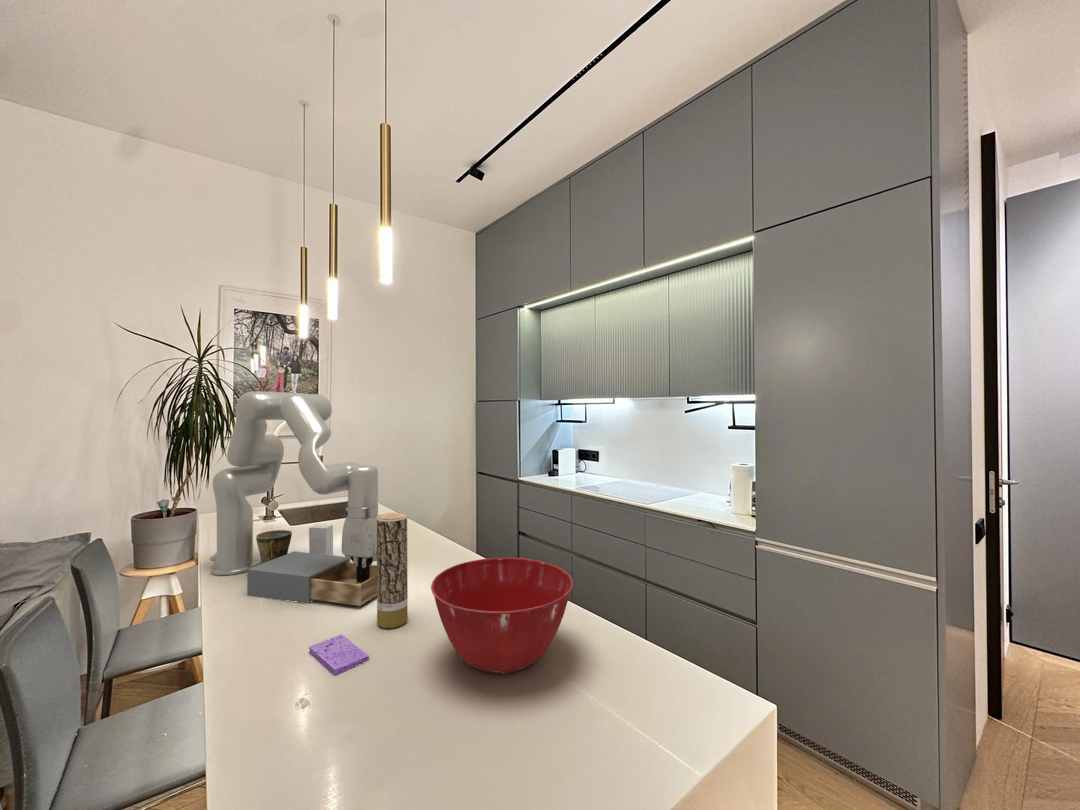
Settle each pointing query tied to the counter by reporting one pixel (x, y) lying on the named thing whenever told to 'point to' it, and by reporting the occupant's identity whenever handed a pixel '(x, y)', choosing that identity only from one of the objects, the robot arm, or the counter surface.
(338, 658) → the sponges
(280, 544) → the ceramic cup
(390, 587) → the paper tube
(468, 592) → the mixing bowl
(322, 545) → the skincare box
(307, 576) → the sleeve
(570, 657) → the counter surface
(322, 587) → the tray
